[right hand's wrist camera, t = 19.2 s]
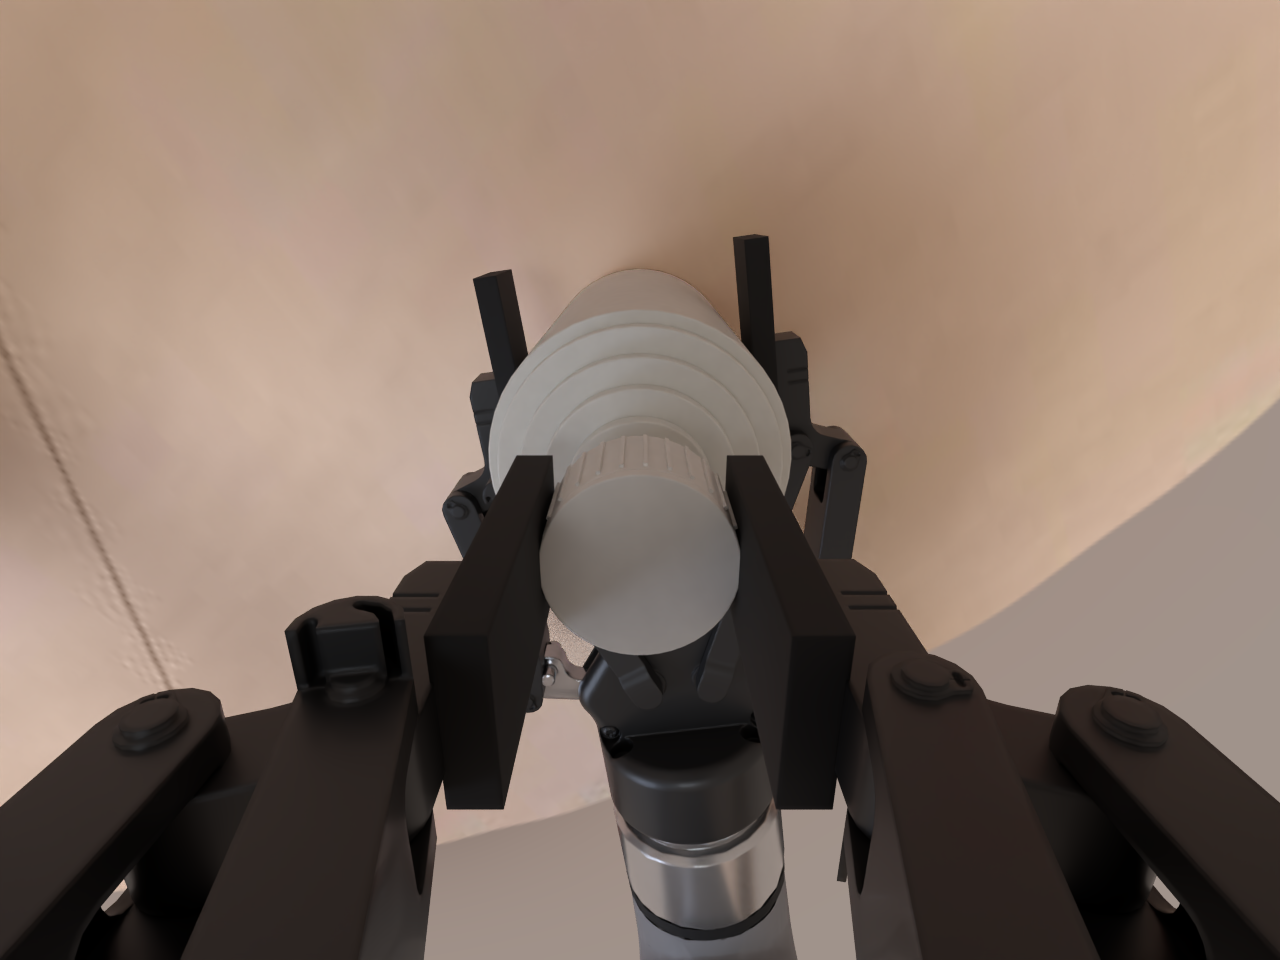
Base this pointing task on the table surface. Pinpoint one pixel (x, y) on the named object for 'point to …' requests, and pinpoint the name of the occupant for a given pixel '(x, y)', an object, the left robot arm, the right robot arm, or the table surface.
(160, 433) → the table surface
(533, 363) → the bottle
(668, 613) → the cap
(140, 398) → the table surface
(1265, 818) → the right robot arm
